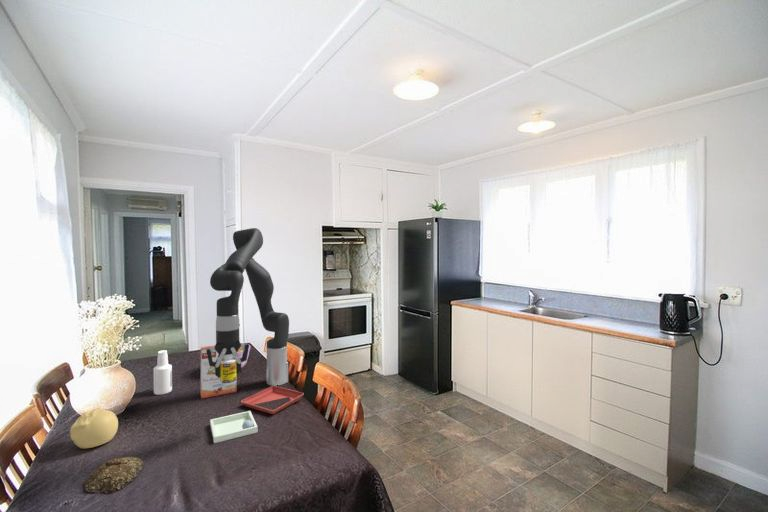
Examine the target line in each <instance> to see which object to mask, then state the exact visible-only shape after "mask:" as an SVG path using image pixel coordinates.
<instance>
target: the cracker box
mask: <svg viewBox="0 0 768 512" xmlns="http://www.w3.org/2000/svg"><path fill="white" fill-rule="evenodd" d="M215 345H216V344H215ZM215 345H206V346H200V398H201V399H207V398H211V397H216V396H217V397H218V396H223V395H228V394H234V393H237V385H238V384H237V380H238V379H237V380H236V382H235V383H232V384H228V385H223V384H221V383H220V377H219V378H218V377H217V376H216V375H215V367H214V366H210V365H209V361H208V356H207V352H206V349H207V348H213V347H215ZM211 356H212V360H213V362H216V359H217V357H218V353H217V352H216V350H214V352H213V354H212V355H211Z"/></svg>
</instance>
